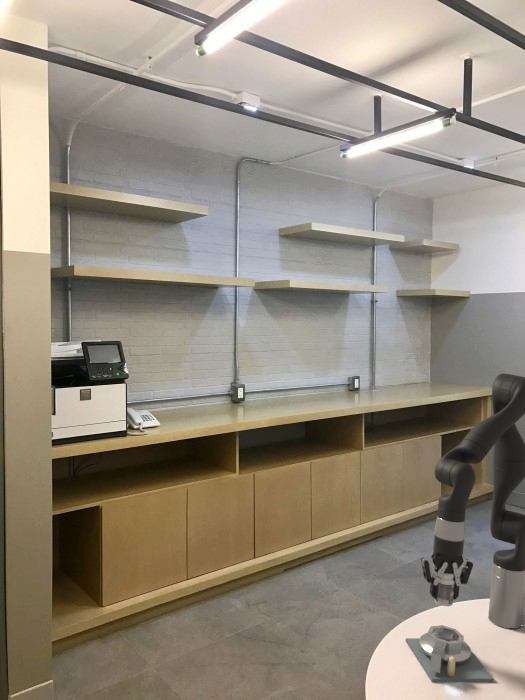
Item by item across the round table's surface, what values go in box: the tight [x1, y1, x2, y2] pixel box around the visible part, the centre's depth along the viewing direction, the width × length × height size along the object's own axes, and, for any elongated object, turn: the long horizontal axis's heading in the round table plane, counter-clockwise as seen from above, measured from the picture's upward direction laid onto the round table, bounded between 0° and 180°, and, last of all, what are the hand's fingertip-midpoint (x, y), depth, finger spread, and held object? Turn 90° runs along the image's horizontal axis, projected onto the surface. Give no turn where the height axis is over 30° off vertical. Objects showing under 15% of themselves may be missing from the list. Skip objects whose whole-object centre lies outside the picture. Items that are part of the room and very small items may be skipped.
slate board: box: [405, 637, 495, 683], centre depth 150 cm, size 16×18×5 cm
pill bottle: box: [434, 573, 455, 607], centre depth 154 cm, size 5×5×8 cm
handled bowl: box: [419, 624, 472, 673], centre depth 150 cm, size 18×13×4 cm
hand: (443, 597), depth 154 cm, fingers closed on pill bottle, 4 cm apart
